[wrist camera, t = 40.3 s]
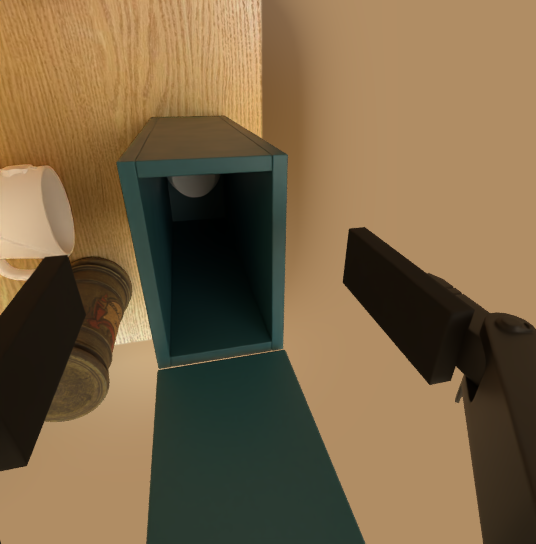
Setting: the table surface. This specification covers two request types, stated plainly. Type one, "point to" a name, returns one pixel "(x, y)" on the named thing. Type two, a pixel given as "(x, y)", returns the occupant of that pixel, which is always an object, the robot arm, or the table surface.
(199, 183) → the pill bottle
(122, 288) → the container
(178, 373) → the lid
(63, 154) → the table surface
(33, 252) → the mug
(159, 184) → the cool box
